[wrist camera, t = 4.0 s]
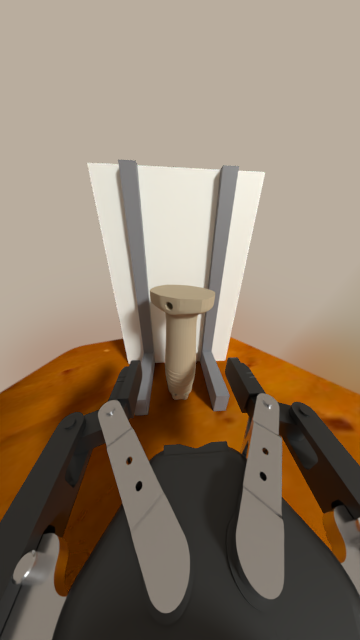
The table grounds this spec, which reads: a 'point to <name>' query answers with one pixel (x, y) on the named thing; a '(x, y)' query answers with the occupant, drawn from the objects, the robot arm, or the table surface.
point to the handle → (181, 331)
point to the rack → (175, 254)
